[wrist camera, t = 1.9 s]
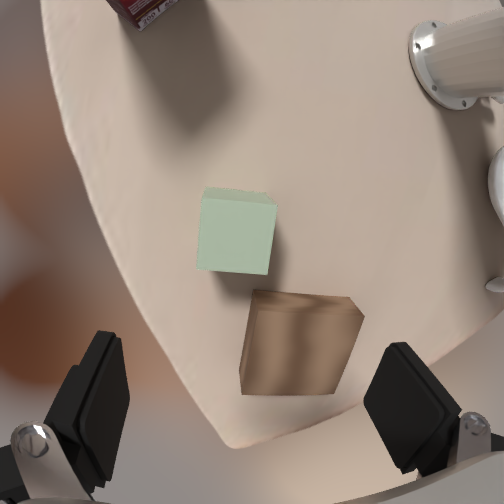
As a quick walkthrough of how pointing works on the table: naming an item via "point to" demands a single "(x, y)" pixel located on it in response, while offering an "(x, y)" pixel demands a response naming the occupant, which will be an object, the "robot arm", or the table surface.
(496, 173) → the spoon rest
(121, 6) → the supplement box
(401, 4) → the table surface
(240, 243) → the sage block
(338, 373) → the walnut slab
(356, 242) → the table surface
